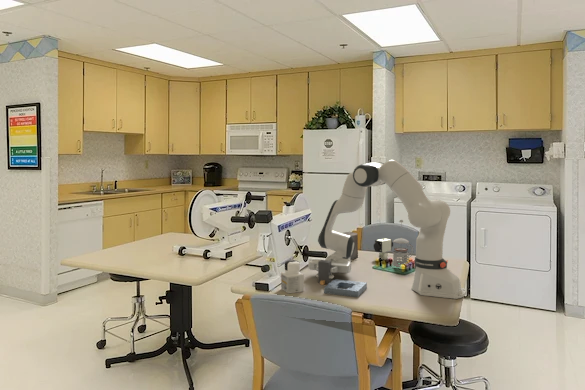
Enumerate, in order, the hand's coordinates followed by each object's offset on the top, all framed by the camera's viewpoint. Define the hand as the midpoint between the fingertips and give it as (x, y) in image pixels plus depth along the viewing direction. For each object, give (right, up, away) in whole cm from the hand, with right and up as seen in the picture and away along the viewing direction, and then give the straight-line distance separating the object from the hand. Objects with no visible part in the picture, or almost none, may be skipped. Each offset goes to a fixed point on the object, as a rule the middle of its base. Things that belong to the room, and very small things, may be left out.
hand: (324, 270), depth 213 cm
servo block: (0, -6, +1) cm, 6 cm away
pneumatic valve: (+36, -2, +47) cm, 59 cm away
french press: (+43, -3, +28) cm, 51 cm away
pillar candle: (+18, -1, +52) cm, 55 cm away
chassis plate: (+9, -7, -11) cm, 16 cm away
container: (-15, -7, -10) cm, 19 cm away
